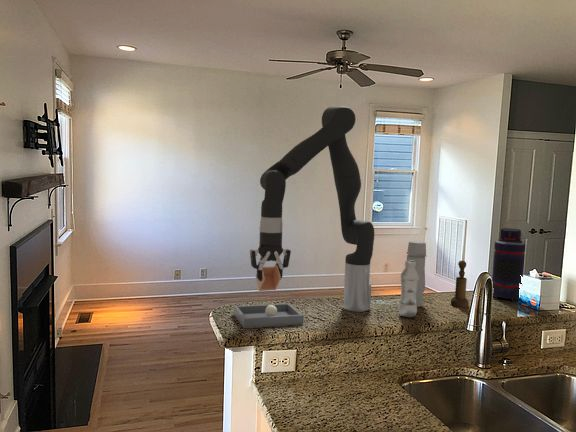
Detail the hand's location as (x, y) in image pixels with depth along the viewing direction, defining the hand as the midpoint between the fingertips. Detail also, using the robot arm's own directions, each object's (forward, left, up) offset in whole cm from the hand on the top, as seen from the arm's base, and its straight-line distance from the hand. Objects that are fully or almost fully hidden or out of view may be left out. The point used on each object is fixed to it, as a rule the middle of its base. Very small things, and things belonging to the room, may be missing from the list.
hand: (269, 280), depth 156 cm
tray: (0, 0, -13) cm, 13 cm away
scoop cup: (0, -4, -2) cm, 5 cm away
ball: (-1, 0, -11) cm, 11 cm away
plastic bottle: (-50, +7, -14) cm, 52 cm away
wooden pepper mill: (-80, -2, -14) cm, 81 cm away
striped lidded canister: (-110, -9, -14) cm, 111 cm away
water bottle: (-62, -6, -14) cm, 64 cm away
